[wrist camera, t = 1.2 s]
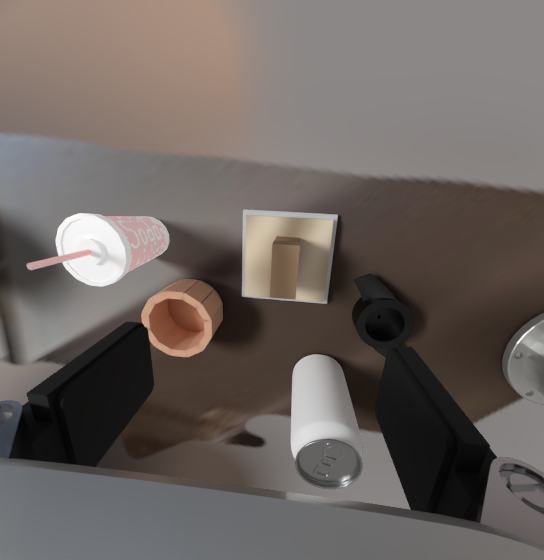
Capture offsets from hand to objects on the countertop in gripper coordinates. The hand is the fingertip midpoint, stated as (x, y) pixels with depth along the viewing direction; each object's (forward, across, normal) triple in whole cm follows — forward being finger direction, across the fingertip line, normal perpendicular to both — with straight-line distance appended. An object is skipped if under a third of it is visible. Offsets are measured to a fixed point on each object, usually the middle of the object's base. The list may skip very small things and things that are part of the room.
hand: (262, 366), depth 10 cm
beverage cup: (+20, +16, -1) cm, 26 cm away
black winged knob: (+20, -11, +6) cm, 24 cm away
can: (+20, -5, +15) cm, 26 cm away
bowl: (+20, +11, +7) cm, 24 cm away
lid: (+19, 0, 0) cm, 19 cm away
